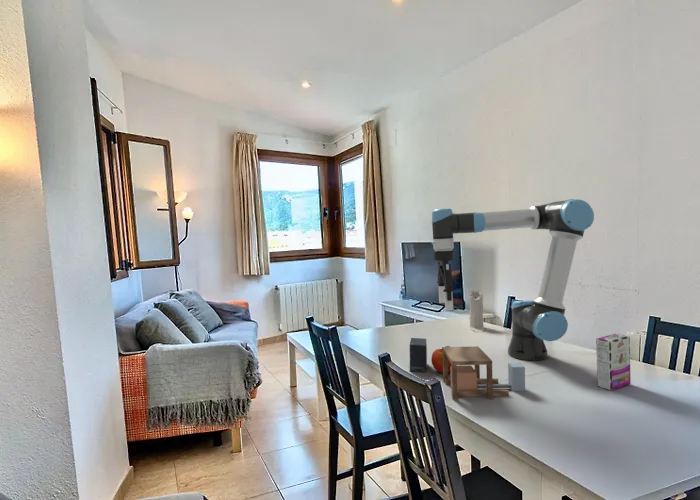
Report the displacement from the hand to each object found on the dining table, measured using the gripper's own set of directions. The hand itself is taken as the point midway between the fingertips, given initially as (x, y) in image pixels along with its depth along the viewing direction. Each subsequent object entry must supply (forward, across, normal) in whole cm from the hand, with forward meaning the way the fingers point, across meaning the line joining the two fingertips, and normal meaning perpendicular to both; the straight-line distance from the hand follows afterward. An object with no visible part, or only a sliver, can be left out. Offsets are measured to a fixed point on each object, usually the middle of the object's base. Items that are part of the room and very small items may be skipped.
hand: (445, 305), depth 155 cm
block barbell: (+25, +19, +9) cm, 33 cm away
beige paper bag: (+26, -64, +27) cm, 74 cm away
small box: (+25, -3, -11) cm, 27 cm away
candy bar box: (+26, +17, +51) cm, 60 cm away
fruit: (+25, +2, -2) cm, 25 cm away
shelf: (+25, +19, +5) cm, 32 cm away
